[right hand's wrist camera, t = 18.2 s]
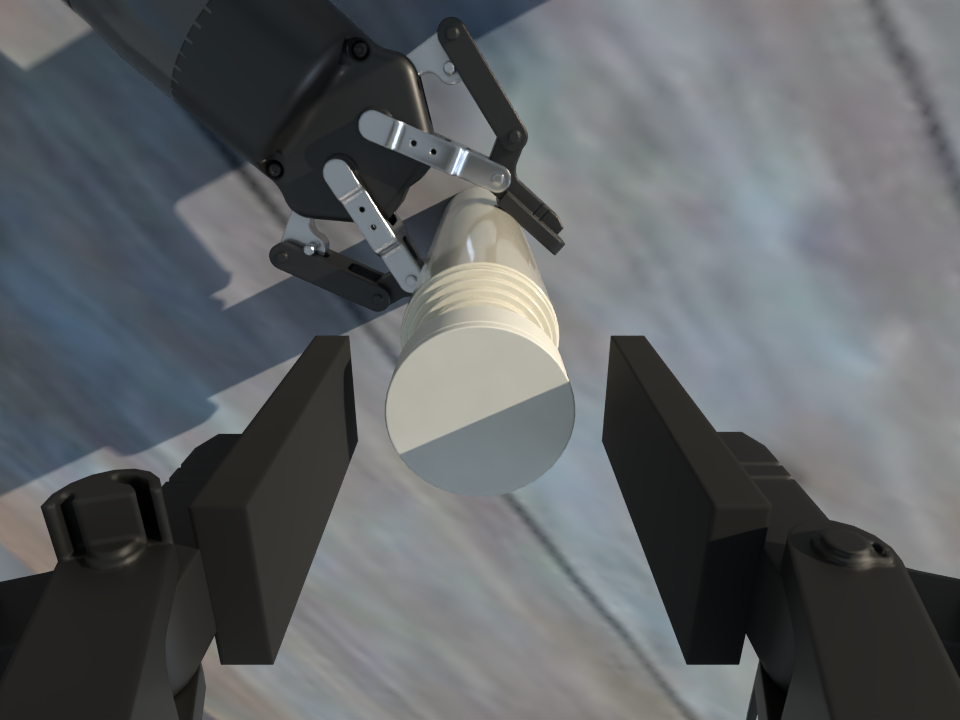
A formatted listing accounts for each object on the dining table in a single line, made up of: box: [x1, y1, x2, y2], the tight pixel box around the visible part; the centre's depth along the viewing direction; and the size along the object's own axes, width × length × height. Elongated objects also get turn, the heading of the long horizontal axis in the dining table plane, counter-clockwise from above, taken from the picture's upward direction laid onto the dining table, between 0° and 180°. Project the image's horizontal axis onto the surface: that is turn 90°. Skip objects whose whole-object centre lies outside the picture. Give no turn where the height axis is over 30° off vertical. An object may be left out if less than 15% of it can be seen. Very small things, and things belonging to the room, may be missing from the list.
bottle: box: [401, 187, 559, 350], centre depth 25 cm, size 4×4×24 cm
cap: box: [385, 306, 575, 497], centre depth 14 cm, size 4×4×2 cm
